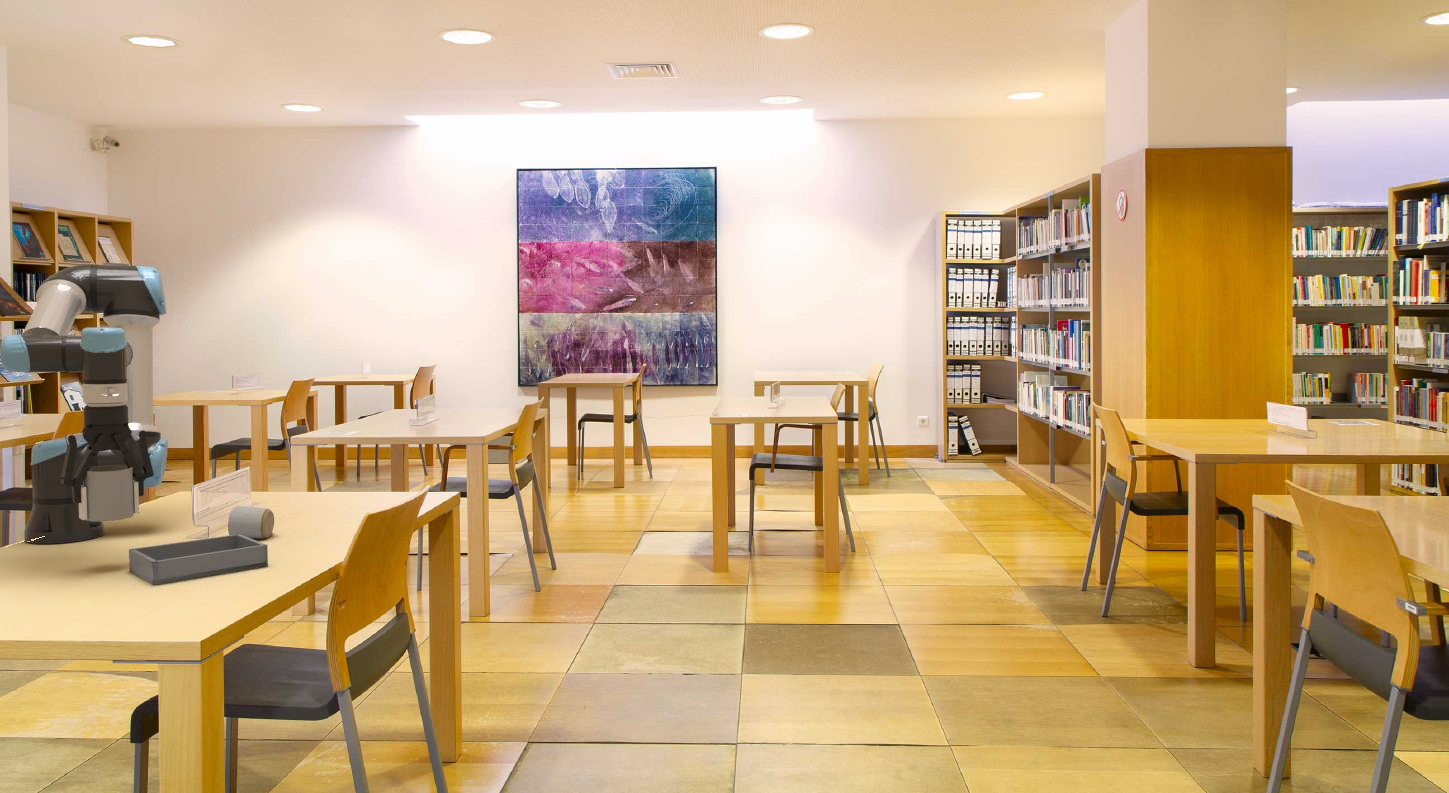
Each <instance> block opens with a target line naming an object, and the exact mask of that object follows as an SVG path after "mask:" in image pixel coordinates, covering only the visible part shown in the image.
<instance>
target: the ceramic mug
mask: <svg viewBox="0 0 1449 793" xmlns="http://www.w3.org/2000/svg"><path fill="white" fill-rule="evenodd" d="M274 527H275V516H274V512H273V511H272V510H271V509H269V508H265V507H255V506H245V505H235V506H234V507H233V508H232V509H231V511H230V512H229V517H228V522H227V529H228V530H227V531H228V535H235V534H241V535H243V536H246V537H248V538H251V539H253V540H264V539H267V538H268V537H270V536H271V534H272V533H273V530H274Z"/></svg>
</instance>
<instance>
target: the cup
mask: <svg viewBox="0 0 1449 793" xmlns="http://www.w3.org/2000/svg"><path fill="white" fill-rule="evenodd" d="M83 486H85V487H86V496H87V521H97V522H114V521H121V520H126V519H130V518H133V517H134V514H135V513H134V504H133V469H132V467H131V468H128V467H127V465H104V466H94V467H90V469H89V471H87V475H86V477H85V479H84V481H83Z"/></svg>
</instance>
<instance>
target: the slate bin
mask: <svg viewBox="0 0 1449 793" xmlns="http://www.w3.org/2000/svg"><path fill="white" fill-rule="evenodd" d="M268 551H269V550H268V544H266V543H264V542H261V541H258V540H257V539H251V538H248V537H246V536H243V535H241V534H235V535H229V534H228V535H222V536H215V537H214V536H213V537H209V538H207V537H206V538H202V539H201V538H200V539H193V540H186V541H179V542H172V543H165V544H164V543H163V544H157V545H156V544H155V545H151V546H143V547H136V548H135V547H134V548H129V549H128V557H129V559H128V560H129V561H128V562H129V563H128V564H129V572H130V573H132V574H133V575H135V576H138V577H139V578H141V579H142V580H144V581H145V582H147V583H149V584H151V585H153V586H160V585H165V584H171V583H178V582H183V581H189V580H194V579H200V578H201V579H202V578H206V577H214V576H218V575H224V574H230V573H237V572H244V571H249V570H256V569H259V568H260V569H261V568H266V567H268V565H269V563H268V562H269V559H268V558H269V555H268Z"/></svg>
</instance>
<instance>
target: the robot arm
mask: <svg viewBox="0 0 1449 793" xmlns="http://www.w3.org/2000/svg"><path fill="white" fill-rule="evenodd" d="M35 294H36V295H35V301H36V306H35V307H34V309H33V312H32V313H31V316H30V317H29V319H28V321H27V324H26V325H25V328H24V330H23V331H22V334H20V333H19V334H13V335H9V334H7V335H6V336H4V337H3V338H2V340H1V341H0V342H1V343H0V361H1V364H2V367H3V369H4V370H5V371H7V372H10V373H25V374H29V373H82V397H83V399H82V403H84V404H86V405H84V407H83V429H82V430H81V432H80V433H74V434H72V433H71V434H70V433H69V434H68V433H67V434H66V435H65V437H60V438H55V439H54V438H53V439H48V440H45V441H41V442H38V443H36V444H34V446H33V447H31V461H30V466H31V488H32V492H31V493H32V509H31V512H30V514H29V518H28V520H27V522H26V525H25V527H24V528H25V529H24V534H23V536H24V542H26V541H30V542H29V544H38V545H41V544H45V545H47V544H49V545H51V544H52V545H53V544H65V543H75V542H81V541H86V540H87V541H88V540H91V539H95V538H98V537H101V536H103V535H104V534H105V531H104V530H105V529H104V526H105V525H104V523H103V522H104V521H103V522H97V521H87V496H86V487H85V486H83V481H84V479H85V477H86V475H87V471H89V469H90V467H94V466H104V465H127V467H128V468H131V467H132V469H133V504H134V514H135V515H137V514H140V498H139V497H144V495H145V494H144V493H145V489H148V488H149V489H150V488H156V487H158V486H160V485H161V483H162V481H163V480H164V476H165V472H166V467H167V461H168V460H167V458H168V446H169V443H168V439H165V438H163V437H162V436H161V435H162V433H161V431H160V430H159V429H158V428H157V427H156V426H155V425H154V372H153V370H154V366H153V365H154V364H153V363H154V362H153V360H154V359H153V358H154V356H153V347H154V346H153V343H154V342H153V328H154V327H156V326H157V325H158V324H160V316H163V315H166V314H167V303H166V298H165V296H166V295H165V292H164V286H163V281H162V277H161V273H160V271H159V270H158V269H157V268H156V267H152V266H144V265H143V266H142V265H140V266H139V265H126V264H125V265H123V264H117V265H116V264H93V263H82V264H76V265H72V266H70V267H69V266H68V267H66V268H63V269H60V270H59V271H57V272H55V273H53V274H51V275H50V276H48V277H47V278H46V279H45V280H43V281H42V283H41V284H40V285H39V287H38V289H37V291H36V293H35ZM82 313H83V314H85V313H86V314H93V313H94V314H102V317H103V320H102V321H104V322H105V323H106V324H107V325H108V326H109V327H102V326H101V327H100V326H99V327H85V328H84V327H83V329H82V330H81V333H80V334H81V335H70V332H71V329H72V327H73V324H74V323H75V320H76V317H78V316H79V315H80V314H82ZM42 536H45V537H42ZM39 537H42V538H39ZM35 538H39V539H36V540H34V541H31V539H35ZM32 542H33V543H32ZM26 543H27V542H26Z"/></svg>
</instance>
